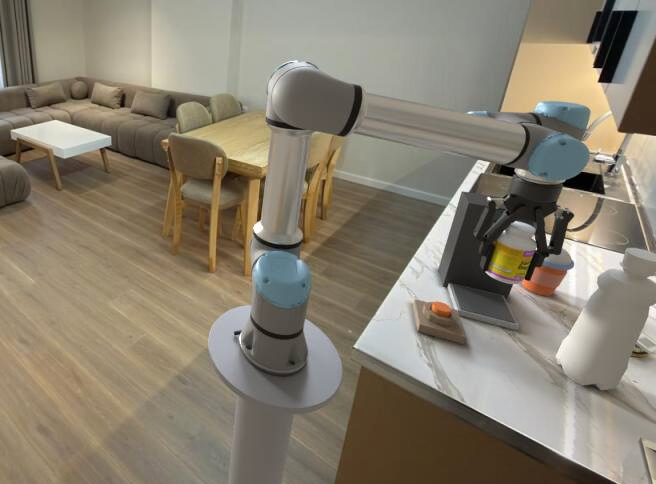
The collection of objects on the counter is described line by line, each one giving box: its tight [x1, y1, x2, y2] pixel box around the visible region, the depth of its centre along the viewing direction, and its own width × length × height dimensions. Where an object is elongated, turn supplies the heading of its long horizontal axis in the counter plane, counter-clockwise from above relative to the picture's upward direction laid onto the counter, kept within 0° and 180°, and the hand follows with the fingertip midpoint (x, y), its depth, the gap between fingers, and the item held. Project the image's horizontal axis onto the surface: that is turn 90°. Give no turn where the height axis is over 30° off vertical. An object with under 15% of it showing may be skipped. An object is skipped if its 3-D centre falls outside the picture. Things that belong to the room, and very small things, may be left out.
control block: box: [412, 298, 467, 345], centre depth 96 cm, size 9×10×4 cm
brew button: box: [431, 301, 452, 317], centre depth 95 cm, size 4×4×2 cm
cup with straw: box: [521, 243, 575, 297], centre depth 105 cm, size 9×9×18 cm
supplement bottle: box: [485, 221, 537, 285], centre depth 86 cm, size 7×7×13 cm
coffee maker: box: [437, 191, 533, 331], centre depth 101 cm, size 14×20×26 cm
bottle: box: [555, 247, 656, 391], centre depth 77 cm, size 9×9×30 cm
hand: (504, 272), depth 88 cm, fingers closed on supplement bottle, 7 cm apart
